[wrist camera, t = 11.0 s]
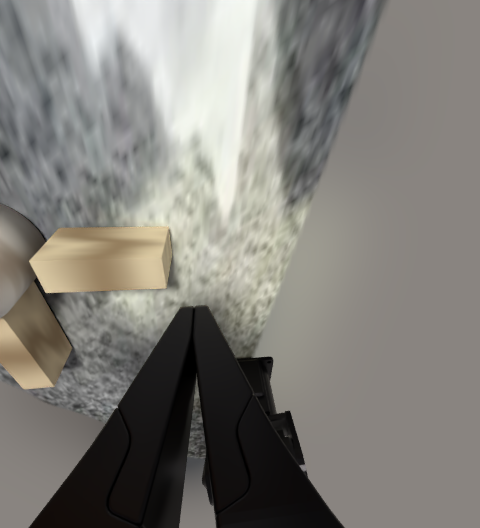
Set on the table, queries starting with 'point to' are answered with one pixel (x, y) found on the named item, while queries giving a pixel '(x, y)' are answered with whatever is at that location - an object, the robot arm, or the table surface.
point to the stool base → (26, 309)
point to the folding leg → (104, 259)
